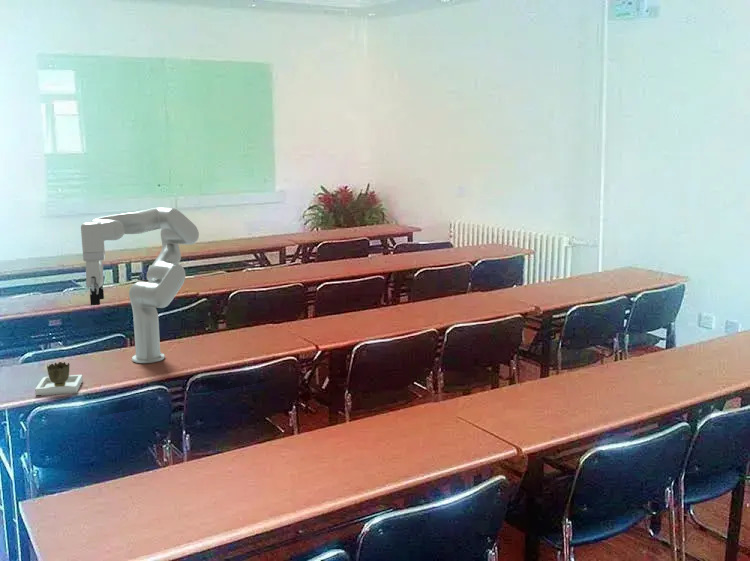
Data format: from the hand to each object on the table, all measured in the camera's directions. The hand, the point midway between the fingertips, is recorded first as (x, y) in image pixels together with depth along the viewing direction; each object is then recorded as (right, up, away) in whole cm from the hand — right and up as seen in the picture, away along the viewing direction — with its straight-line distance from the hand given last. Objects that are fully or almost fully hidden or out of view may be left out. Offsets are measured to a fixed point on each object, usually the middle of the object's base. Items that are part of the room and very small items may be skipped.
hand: (97, 302), depth 278 cm
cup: (-10, -30, -9) cm, 33 cm away
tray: (-10, -31, -9) cm, 33 cm away
